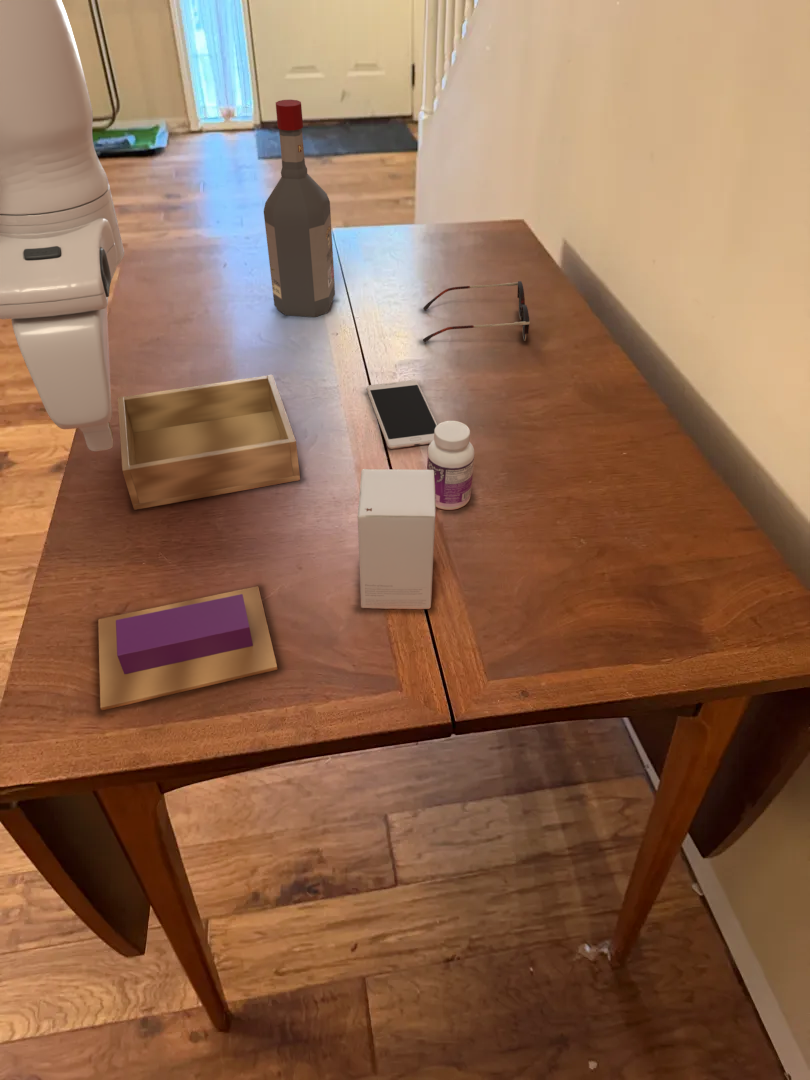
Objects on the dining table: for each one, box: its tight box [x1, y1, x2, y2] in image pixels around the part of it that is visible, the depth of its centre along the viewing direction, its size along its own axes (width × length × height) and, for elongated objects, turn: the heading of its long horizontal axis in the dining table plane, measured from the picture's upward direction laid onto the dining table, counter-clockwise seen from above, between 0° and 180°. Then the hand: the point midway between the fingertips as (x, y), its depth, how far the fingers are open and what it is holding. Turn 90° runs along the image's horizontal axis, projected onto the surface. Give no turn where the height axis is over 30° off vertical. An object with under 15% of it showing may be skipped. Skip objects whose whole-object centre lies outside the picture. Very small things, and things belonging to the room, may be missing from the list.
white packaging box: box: [357, 468, 437, 610], centre depth 78 cm, size 7×7×13 cm
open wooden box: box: [117, 374, 301, 511], centre depth 96 cm, size 20×16×6 cm
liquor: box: [263, 99, 336, 318], centre depth 119 cm, size 9×9×30 cm
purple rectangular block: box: [116, 594, 253, 674], centre depth 74 cm, size 12×4×3 cm, turn 107°
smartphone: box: [366, 379, 439, 450], centre depth 105 cm, size 8×1×15 cm
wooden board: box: [97, 585, 279, 711], centre depth 75 cm, size 16×11×1 cm
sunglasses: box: [422, 280, 531, 343], centre depth 122 cm, size 14×16×5 cm
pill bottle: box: [426, 420, 475, 511], centre depth 89 cm, size 5×5×10 cm
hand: (100, 411), depth 61 cm, fingers open, 8 cm apart
